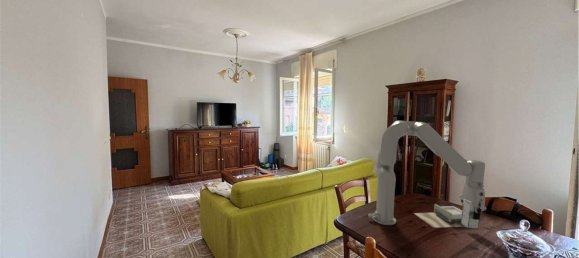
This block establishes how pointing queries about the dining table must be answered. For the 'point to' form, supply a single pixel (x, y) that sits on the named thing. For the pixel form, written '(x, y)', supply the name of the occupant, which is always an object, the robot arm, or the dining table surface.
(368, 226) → the dining table surface
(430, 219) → the cream tray
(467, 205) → the syrup box
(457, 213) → the pale grey flat box
